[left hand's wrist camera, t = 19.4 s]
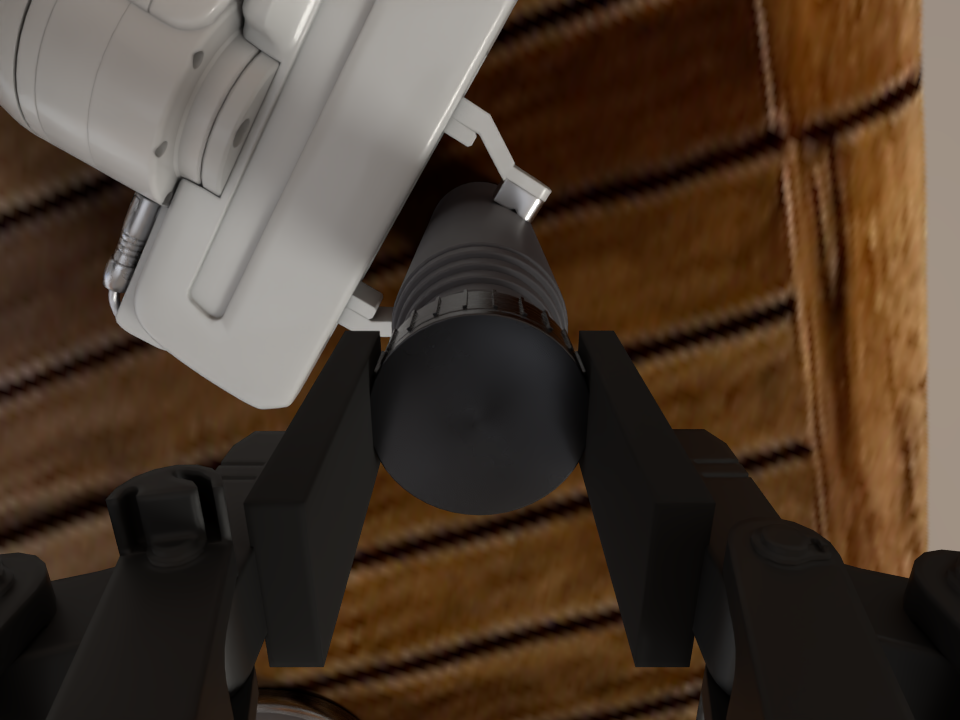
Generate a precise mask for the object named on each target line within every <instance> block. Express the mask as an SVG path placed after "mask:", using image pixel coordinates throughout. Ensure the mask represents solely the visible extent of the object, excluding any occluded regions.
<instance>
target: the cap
mask: <svg viewBox="0 0 960 720" xmlns="http://www.w3.org/2000/svg"><path fill="white" fill-rule="evenodd" d="M373 374H374V375H375V378H374V380H373V384H372V387H371V390H370V408H371V422H372V436H373V447H374V449H375V452H376V454H377V456H378V458H379V460H380V461H381V463H382V465H383V466H384V468H385V469H386V471H387V472H388V473H389V474H390V475H391V477H392V478H393V479H394V480H395V481H396V482H397V483H398V484H399V485H400V486H401V487H403V488H404V489H405V490H406V491H408V492H409V493H410V494H412V495H413V496H415V497H416V498H418V499H420V500H422V501H424V502H425V503H427V504H430V505H432V506H435V507H437V508H440V509H443V510H447V511H450V512H455V513H461V514H468V515H492V514H499V513H505V512H509V511H513V510H516V509H520V508H522V507H525V506H527V505H530V504H532V503H534V502H536V501H538V500H540V499H541V498H543V497H545V496H546V495H548V494H549V493H550V492H552V491H553V490H555V489H556V488H557V487H558V486H559V485H560V484H561V483H562V482H563V481H565V480H566V478H567V477H568V476H569V475H570V474H571V472H572V471H573V470H574V468H575V467H576V465H577V464H578V462H579V461H580V459H581V457H582V455H583V453H584V451H585V448H586V438H587V424H588V409H589V394H590V392H589V388H588V385H587V381H586V379H585V376H584V375H587V373H586V370H585V368H584V366H583V363H582V361H581V358H580V356H579V353H578V351H576V352H575V351H574V349H573V346H572V344H571V341H570V339H569V336H568V334H567V331H566V330H565V329H563V330H562V329H561V328H560V327H559V326H558V324H557V323H556V322H555V321H554V320H553V319H552V318H550V317H549V314H548V311H546V310H544V311H542V310H540V309H539V308H537V307H536V306H534V305H532V304H530V303H528V302H526V301H524V297H521V296H520V298H516V297H513V296H510V295H507V294H502V293H497V292H496V290H494V289H493V290H492V292H488V291H472V292H468V290H467V289H466V290H464V291H463V293H457V294H452V295H449V296H446V297H443V298H440V296H438V297H436V300H435V301H433V302H431V303H429V304H427V305H425V306H424V307H422V308H421V309H419V310H418V311H416V310H413V311H412V313H411V316H410V317H409V318H408V319H407V320H406V321H405V322H404V323H403V324H402V325H401V326H400V327H399V328H398V330H397V329H396V328H395V329H394V330H393V332H392V335H391V338H390V340H389V343H388V346H387V348H386V350H385V352H384V351H382V352H381V354H380V357H379V359H378V362H377V364H376V367H375V370H374V372H373Z"/></svg>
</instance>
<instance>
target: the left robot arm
mask: <svg viewBox="0 0 960 720" xmlns="http://www.w3.org/2000/svg"><path fill="white" fill-rule="evenodd" d="M578 353H579V356H580V358H581V361H582V363H583V366H584V368H585V370H586V373H587V375H584V376H585V379H586V381H587V385H588V388H589V392H590V394H589V409H588V424H587V438H586V448H585V451H584V453H583V455H582V457H581V459H580V461H579V464H580V468H581V472H582V475H583V479H584V482H585V486H586V490H587V493H588V497H589V500H590V504H591V508H592V511H593V515H594V519H595V522H596V526H597V529H598V533H599V537H600V540H601V544H602V548H603V551H604V555H605V558H606V562H607V566H608V569H609V573H610V576H611V580H612V584H613V587H614V591H615V595H616V598H617V602H618V605H619V609H620V613H621V616H622V620H623V623H624V627H625V631H626V634H627V638H628V642H629V645H630V649H631V652H632V656H633V660H634V663H635V667H689V666H690V660H691V654H692V648H693V642H694V636H695V638H696V640H697V643H698V645H699V648H700V650H701V653H702V655H703V658H704V660H705V663H706V666H705V671H704V677H703V683H702V689H701V694H700V700H699V706H698V712H697V717H696V720H960V551H950V550H936V551H930V552H924V553H923V554H922V555H921V556H919V557H918V558H917V559H916V560H915V561H914V564H913V568H912V571H911V574H910V577H909V578H905V577H900V576H895V575H890V574H885V573H880V572H875V571H870V570H866V569H861V568H857V567H853V566H850V565H846V564H844V563H843V561H842V558H841V556H840V555H839V553H838V552H837V551H836V549H835V548H834V547H833V545H832V544H831V543H830V542H829V541H828V540H826V539H825V538H823V537H822V536H821V535H819V534H818V533H816V532H815V531H814V530H811V529H809V528H807V527H804V526H802V525H800V524H797V523H795V522H792V521H787V520H783V519H781V518H780V517H779V515H778V514H777V513H776V511H775V510H774V508H773V507H772V506H771V504H770V503H769V502H768V500H767V499H766V497H765V496H764V495H763V493H762V492H761V491H760V489H759V488H758V486H757V485H756V484H755V482H754V481H753V480H752V478H751V477H748V473H747V471H746V470H745V469H744V467H743V466H742V464H741V463H738V459H737V458H736V456H735V455H734V453H733V452H732V451H731V449H730V448H729V447H728V445H727V444H726V443H725V442H723V441H722V440H720V439H719V438H717V437H715V436H714V435H712V434H711V433H709V432H708V431H706V430H705V429H672V428H671V426H670V425H669V423H668V421H667V420H666V418H665V416H664V415H663V413H662V411H661V410H660V408H659V406H658V405H657V403H656V401H655V399H654V398H653V396H652V394H651V393H650V391H649V389H648V388H647V386H646V384H645V383H644V381H643V379H642V378H641V376H640V374H639V372H638V371H637V369H636V367H635V366H634V364H633V362H632V361H631V359H630V357H629V356H628V354H627V352H626V351H625V349H624V347H623V346H622V344H621V342H620V340H619V339H618V337H617V335H616V334H615V332H614V331H579V346H578ZM380 354H381V342H380V331H345V332H344V334H343V336H342V337H341V339H340V341H339V342H338V344H337V346H336V348H335V349H334V351H333V353H332V354H331V356H330V358H329V359H328V361H327V363H326V364H325V366H324V368H323V369H322V371H321V373H320V374H319V376H318V378H317V380H316V381H315V383H314V385H313V386H312V388H311V390H310V391H309V393H308V395H307V396H306V398H305V400H304V401H303V403H302V405H301V406H300V408H299V410H298V412H297V413H296V415H295V417H294V418H293V420H292V422H291V423H290V425H289V427H288V428H287V430H286V431H255V432H253V433H252V434H250V435H249V436H247V437H246V438H244V439H243V440H241V441H240V442H238V443H237V444H235V445H234V446H233V447H232V448H231V450H230V451H229V452H228V454H227V455H226V456H225V458H224V459H223V461H222V462H221V466H218V467H217V469H216V470H213V469H212V468H208V467H204V466H200V465H174V466H169V467H164V468H159V469H154V470H152V471H149V472H146V473H144V474H141V475H138V476H135V477H133V478H132V479H130V480H128V481H127V482H125V483H123V484H122V485H120V486H118V487H117V488H116V489H115V490H114V491H113V492H112V493H111V494H110V495H109V497H108V498H107V499H106V503H107V507H108V511H109V515H110V519H111V522H112V526H113V530H114V534H115V538H116V542H117V546H118V550H119V554H120V557H119V560H118V562H117V564H116V566H115V567H113V568H109V569H106V570H102V571H98V572H93V573H88V574H83V575H78V576H74V577H69V578H64V579H59V580H54V581H50V577H49V574H48V571H47V568H46V565H45V563H44V562H43V561H42V560H40V559H39V558H38V557H37V556H36V555H30V554H24V553H10V554H1V555H0V720H358V719H356V718H355V717H354V716H353V715H351V714H350V713H348V712H346V711H345V710H343V709H341V708H340V707H338V706H336V705H334V704H332V703H330V702H327V701H325V700H322V699H320V698H317V697H314V696H310V695H307V694H303V693H298V692H293V691H286V690H274V689H259V690H258V684H257V677H256V671H255V666H254V664H255V662H256V659H257V657H258V654H259V652H260V649H261V647H262V644H263V642H264V639H265V641H266V647H267V653H268V659H269V665H270V667H324V664H325V660H326V657H327V653H328V650H329V646H330V642H331V639H332V635H333V631H334V628H335V624H336V621H337V617H338V613H339V610H340V606H341V603H342V599H343V595H344V592H345V588H346V584H347V581H348V577H349V574H350V570H351V566H352V563H353V559H354V556H355V552H356V548H357V545H358V541H359V538H360V534H361V530H362V527H363V523H364V519H365V516H366V512H367V509H368V505H369V501H370V498H371V494H372V491H373V487H374V483H375V480H376V476H377V472H378V469H379V465H380V462H381V461H380V460H379V458H378V456H377V454H376V452H375V449H374V447H373V436H372V422H371V408H370V390H371V387H372V384H373V380H374V378H375V375H374V374H373V372H374V370H375V367H376V364H377V362H378V359H379V357H380Z"/></svg>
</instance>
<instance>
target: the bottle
mask: <svg viewBox="0 0 960 720" xmlns="http://www.w3.org/2000/svg"><path fill="white" fill-rule="evenodd" d="M497 186H498V185H496V184H492V183H488V182H471V183H467V184H463V185H461V186H458V187H456V188H454V189H453V190H451V191H450V192H449V193H447V194H446V195H445V196H444V197H443V198H442V199H441V200H440V202H439V203H438V205H437V206H436V208H435V210H434V212H433V214H432V216H431V219H430V221H429V223H428V226H427V228H426V230H425V233H424V235H423V237H422V239H421V242H420V244H419V246H418V249H417V251H416V253H415V256H414V258H413V260H412V263H411V265H410V267H409V270H408V272H407V274H406V277H405V279H404V281H403V283H402V286H401V288H400V290H399V293H398V295H397V298H396V301H395V304H394V308H393V313H392V324H391V328H392V332H393V330H394V329H395V328H396V329H397V330H398V328H399V327H400V326H401V325H402V324H403V323H404V322H405V321H406V320H407V319H408V318H409V317H410V316H411V313H412V311H413V310H416V311H418V310H419V309H421V308H422V307H424V306H425V305H427V304H429V303H431V302H433V301H435V300H436V297H438V296H440V298H443V297H446V296H449V295H452V294H457V293H463V291H464V290H466V289H467V290H468V292H472V291H488V292H492V290H493V289H494V290H496V292H497V293H502V294H507V295H510V296H513V297H516V298H520V296H521V297H524V301H526V302H528V303H530V304H532V305H534V306H536V307H537V308H539V309H540V310H542V311H544V310H546V311H548V314H549V317H550V318H552V319H553V320H554V321H555V322H556V323H557V324H558V326H559V327H560V328H561V329H562V330H563V329H565V330H566V331H567V334H568V319H567V311H566V307H565V303H564V300H563V297H562V295H561V292H560V290H559V288H558V285H557V283H556V281H555V278H554V276H553V274H552V271H551V269H550V267H549V265H548V262H547V260H546V258H545V255H544V253H543V251H542V249H541V246H540V244H539V242H538V239H537V237H536V235H535V233H534V230H533V228H532V226H531V223H530V222H528V221H526V220H524V219H522V218H521V217H520V216H519V215H518V214H517V213H516V210H515V209H508V208H506V207H503V206H502V205H500V204H499V203H497V202H495V201H494V200H493V193H494V191H495V190H496V188H497Z"/></svg>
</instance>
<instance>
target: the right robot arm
mask: <svg viewBox="0 0 960 720" xmlns="http://www.w3.org/2000/svg"><path fill="white" fill-rule="evenodd" d="M517 1H518V0H0V105H1V106H2V107H3V108H4V109H5V110H6V111H7V112H8V113H9V114H10V115H11V116H12V117H13V118H14V119H15V120H16V121H17V122H18V123H19V124H21V125H22V126H23V127H25V128H26V129H27V130H29V131H30V132H32V133H33V134H35V135H36V136H38V137H40V138H42V139H44V140H45V141H47V142H49V143H51V144H53V145H54V146H56V147H58V148H60V149H61V150H63V151H65V152H67V153H69V154H71V155H72V156H74V157H76V158H78V159H79V160H81V161H83V162H85V163H87V164H88V165H90V166H92V167H94V168H96V169H97V170H99V171H101V172H103V173H105V174H106V175H108V176H109V177H111V178H113V179H115V180H117V181H118V182H120V183H122V184H124V185H126V186H127V187H129V188H131V189H133V190H134V191H136V192H135V194H134V196H133V199H132V201H131V205H130V207H129V210H128V212H127V215H126V217H125V220H124V223H123V226H122V230H121V235H120V239H119V242H118V245H117V247H116V250H115V252H114V254H112V255H111V257H110V258H109V260H108V262H107V265H106V267H105V271H104V275H103V285H104V286H105V287H106V288H107V289H109V302H110V306H111V309H112V311H113V313H114V315H115V317H116V321H117V323H118V324H119V325H120V326H121V327H122V328H123V329H124V330H126V331H127V332H128V333H130V334H132V335H134V336H136V337H138V338H140V339H142V340H144V341H146V342H147V343H149V344H151V345H153V346H155V347H157V348H160V349H163V350H166V351H168V352H169V353H170V354H172V355H173V356H174V357H176V358H177V359H179V360H180V361H181V362H183V363H184V364H185V365H187V366H188V367H190V368H191V369H193V370H194V371H195V372H197V373H198V374H200V375H201V376H203V377H205V378H206V379H208V380H209V381H211V382H212V383H214V384H215V385H217V386H218V387H220V388H222V389H223V390H225V391H227V392H228V393H230V394H232V395H233V396H235V397H237V398H238V399H240V400H242V401H243V402H245V403H247V404H249V405H251V406H253V407H256V408H258V409H272V408H282V407H287V406H289V405H290V404H292V402H293V401H294V399H295V398H296V397H297V395H298V394H299V392H300V390H301V389H302V387H303V385H304V384H305V382H306V380H307V378H308V377H309V375H310V373H311V371H312V369H313V368H314V366H315V364H316V362H317V360H318V359H319V357H320V355H321V353H322V351H323V350H324V348H325V346H326V344H327V342H328V341H329V339H330V337H331V335H332V333H333V332H334V330H335V328H336V326H337V324H340V325H342V326H344V327H346V328H347V329H349V330H351V331H380V337H391V335H392V328H391V324H392V313H393V308H394V307H379V305H380V303H381V301H382V299H383V294H382V293H380V292H379V291H377V290H375V289H373V288H372V287H370V286H368V285H367V284H365V283H363V282H362V279H363V278H364V276H365V274H366V272H367V270H368V269H369V267H370V265H371V263H372V261H373V260H374V258H375V256H376V254H377V252H378V251H379V249H380V247H381V245H382V243H383V242H384V240H385V238H386V236H387V234H388V233H389V231H390V229H391V227H392V226H393V224H394V222H395V220H396V218H397V217H398V215H399V213H400V211H401V209H402V208H403V206H404V204H405V202H406V200H407V199H408V197H409V195H410V193H411V191H412V190H413V188H414V186H415V184H416V182H417V181H418V179H419V177H420V175H421V173H422V172H423V170H424V168H425V166H426V164H427V163H428V161H429V159H430V157H431V155H432V154H433V152H434V150H435V148H436V146H437V145H438V143H439V141H440V139H441V137H442V136H443V134H444V132H445V133H446V134H448V135H450V136H451V137H453V138H454V139H456V140H458V141H459V142H461V143H462V144H464V145H466V146H467V147H468V146H471V145H472V144H473V142H474V140H475V139H476V137H477V134H479V135H480V137H481V139H482V141H483V143H484V145H485V147H486V149H487V150H488V152H489V154H490V156H491V158H492V160H493V162H494V164H495V166H496V168H497V169H498V171H499V173H500V175H501V177H502V179H501V181H500V183H499V184H498V186H497V188H496V190H495V191H494V193H493V200H494V201H495V202H497V203H499V204H500V205H502V206H503V207H506V208H508V209H515V210H516V213H517V214H518V215H519V216H520V217H521V218H522V219H524V220H526V221H528V222H530V223H531V222H532V221H533V219H534V218H535V216H536V215H537V213H538V212H539V210H540V208H541V207H542V205H543V204H544V202H545V201H546V199H547V198H548V196H549V194H550V193H551V189H550V188H549V187H547V186H546V185H545V184H543V183H542V182H541V181H539V180H537V179H536V178H534V177H533V176H531V175H530V174H528V173H527V172H525V171H523V170H522V169H520V168H519V167H517V166H516V165H514V164H515V163H514V161H513V159H512V157H511V155H510V153H509V151H508V149H507V147H506V145H505V143H504V141H503V139H502V137H501V135H500V133H499V131H498V129H497V127H496V125H495V123H494V121H493V119H492V117H491V115H490V114H489V113H487V112H485V111H484V110H482V109H481V108H479V107H478V106H476V105H475V104H473V103H472V102H470V101H469V100H467V99H466V98H464V96H465V94H466V92H467V91H468V89H469V87H470V85H471V83H472V82H473V80H474V78H475V76H476V74H477V73H478V71H479V69H480V67H481V65H482V64H483V62H484V60H485V58H486V56H487V55H488V53H489V51H490V49H491V47H492V46H493V44H494V42H495V40H496V38H497V37H498V35H499V33H500V31H501V29H502V28H503V26H504V24H505V22H506V20H507V19H508V17H509V15H510V13H511V11H512V10H513V8H514V6H515V4H516V2H517ZM476 133H477V134H476ZM120 293H125V295H124V297H123V300H122V302H120Z"/></svg>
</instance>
